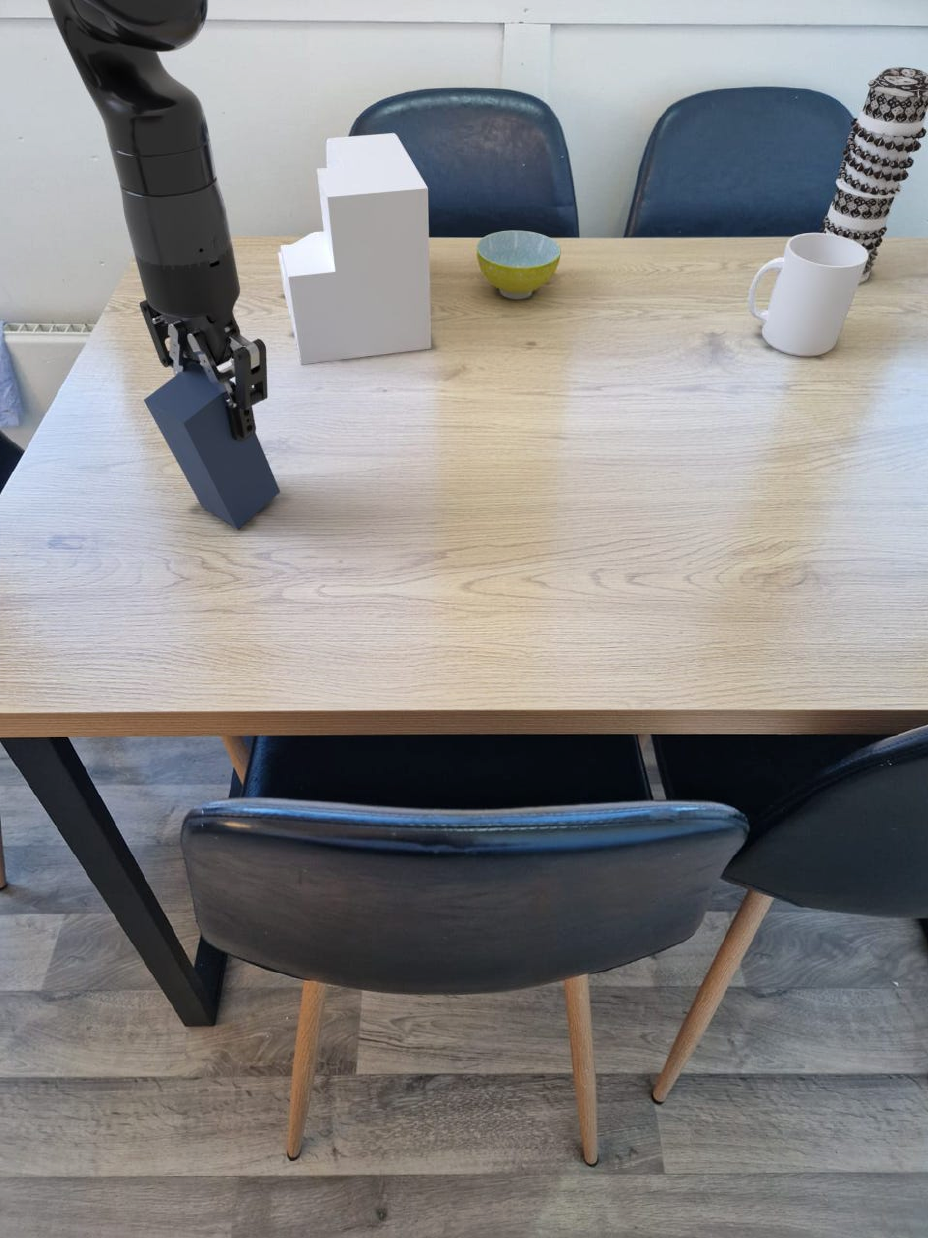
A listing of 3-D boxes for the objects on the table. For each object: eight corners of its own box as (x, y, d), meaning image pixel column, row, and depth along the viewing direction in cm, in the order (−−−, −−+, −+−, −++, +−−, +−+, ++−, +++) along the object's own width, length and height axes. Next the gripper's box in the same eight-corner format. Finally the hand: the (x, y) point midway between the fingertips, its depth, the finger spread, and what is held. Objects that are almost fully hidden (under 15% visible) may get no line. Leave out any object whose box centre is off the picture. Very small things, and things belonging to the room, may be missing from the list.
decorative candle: (857, 292, 117) (933, 88, 99) (795, 272, 121) (857, 73, 103) (881, 269, 122) (957, 71, 104) (820, 251, 126) (884, 57, 107)
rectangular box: (183, 423, 70) (235, 381, 73) (143, 399, 73) (195, 360, 75) (237, 530, 82) (281, 491, 84) (201, 507, 84) (245, 469, 87)
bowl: (572, 287, 117) (577, 243, 113) (528, 320, 111) (531, 274, 106) (505, 265, 121) (507, 222, 117) (459, 295, 115) (459, 250, 111)
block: (279, 273, 119) (256, 124, 105) (392, 262, 122) (384, 114, 108) (301, 364, 103) (277, 201, 88) (431, 348, 106) (427, 187, 91)
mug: (845, 358, 105) (881, 266, 96) (752, 359, 105) (779, 268, 96) (820, 321, 111) (851, 232, 103) (732, 322, 111) (755, 233, 102)
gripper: (86, 229, 66) (141, 413, 79) (202, 284, 60) (243, 474, 72) (164, 202, 70) (205, 381, 83) (280, 251, 64) (306, 436, 77)
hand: (222, 424), depth 77 cm, fingers closed on rectangular box, 5 cm apart
